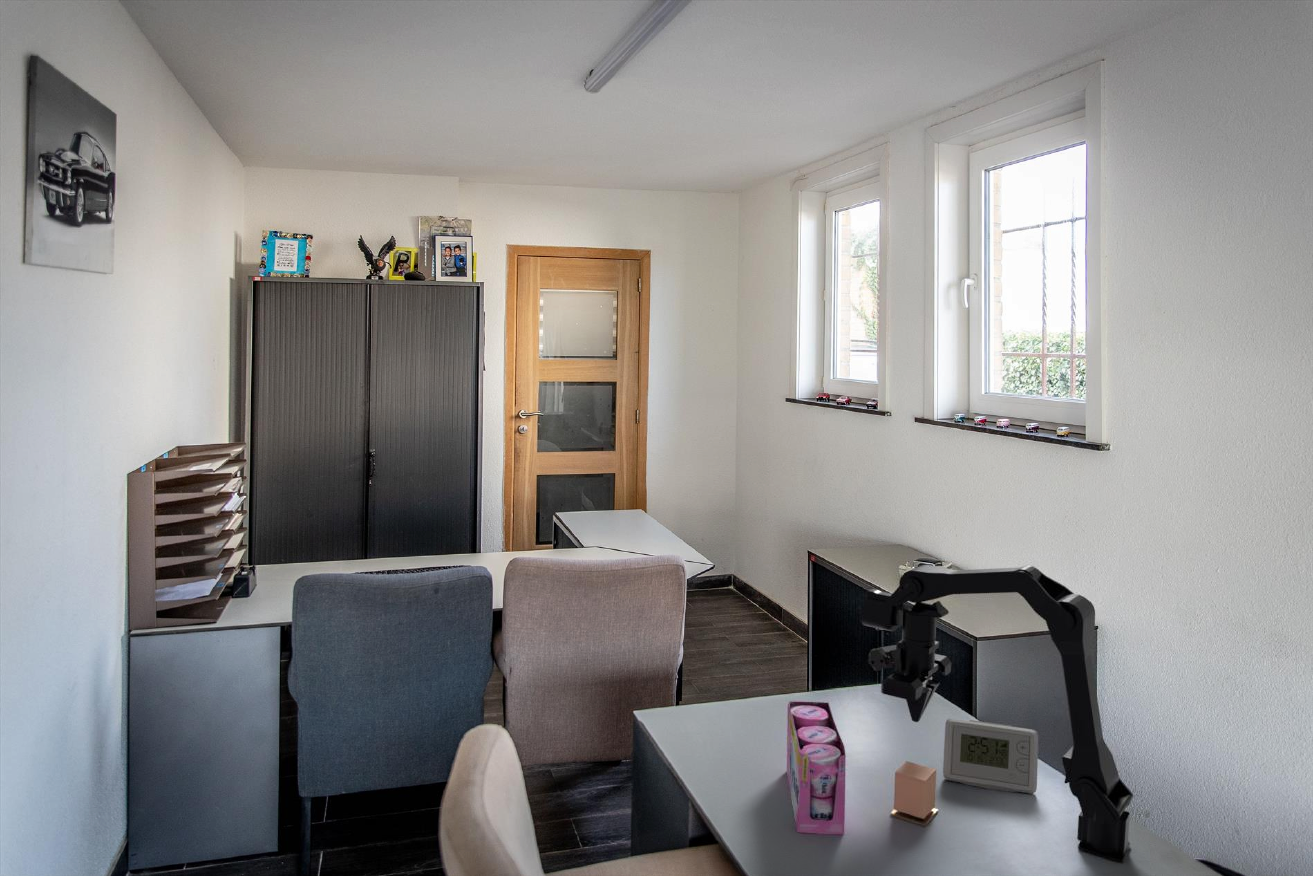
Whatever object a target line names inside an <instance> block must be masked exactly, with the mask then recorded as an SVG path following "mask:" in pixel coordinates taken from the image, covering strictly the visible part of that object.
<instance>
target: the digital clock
mask: <svg viewBox="0 0 1313 876" xmlns="http://www.w3.org/2000/svg"><path fill="white" fill-rule="evenodd" d="M943 743H944V747H943V767H942V774H943V778H944V779H945V780H947V781H950V782H951V781H952V782H958V783H962V784H963V785H966V786H967V785H968V786H972V787H973V786H974V787H978V788H980V787H981V788H987V789H991V788H993V789H992V790H997V791H998V790H999V791H1004V792H1005V791H1006V792H1012V793H1015V792H1018V793H1019V792H1020V793H1026V794H1035V793H1036V792H1037V788H1038V767H1039V766H1038V759H1039V735H1038V732H1037V731H1036V730H1035V729H1030V728H1026V727H1025V728H1024V727H1015V726H1014V725H1008V724H1001V723H995V722H987V721H980V720H979V721H978V720H972V719H969V720H966V719H958V718H948V719H946V720H945V726H944V742H943Z"/></svg>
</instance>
